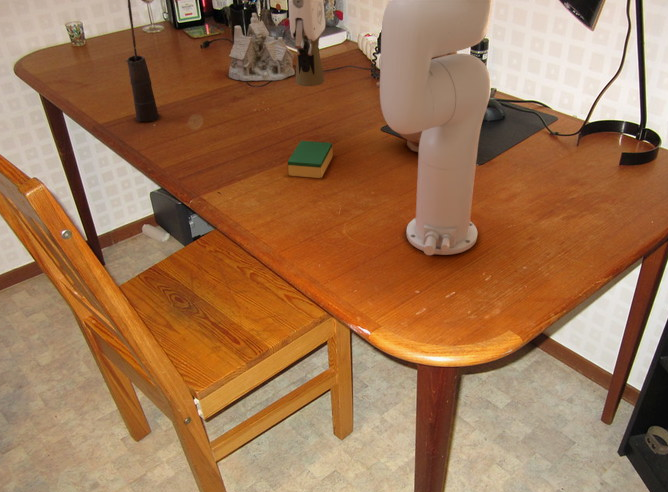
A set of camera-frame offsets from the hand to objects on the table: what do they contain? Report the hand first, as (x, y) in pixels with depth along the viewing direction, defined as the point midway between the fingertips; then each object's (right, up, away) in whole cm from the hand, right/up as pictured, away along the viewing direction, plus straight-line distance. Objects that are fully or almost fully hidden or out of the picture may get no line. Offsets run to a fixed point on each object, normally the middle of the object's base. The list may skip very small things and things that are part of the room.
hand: (309, 69), depth 133 cm
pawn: (0, -2, +1) cm, 2 cm away
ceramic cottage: (-18, +15, +47) cm, 52 cm away
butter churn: (-42, -4, +23) cm, 48 cm away
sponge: (0, -19, +3) cm, 20 cm away
